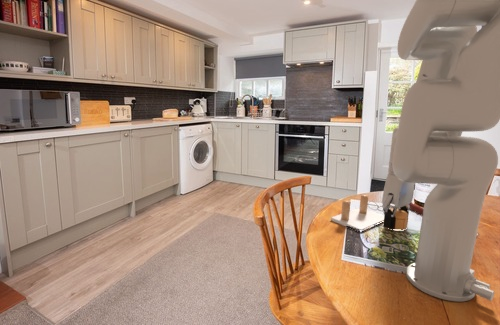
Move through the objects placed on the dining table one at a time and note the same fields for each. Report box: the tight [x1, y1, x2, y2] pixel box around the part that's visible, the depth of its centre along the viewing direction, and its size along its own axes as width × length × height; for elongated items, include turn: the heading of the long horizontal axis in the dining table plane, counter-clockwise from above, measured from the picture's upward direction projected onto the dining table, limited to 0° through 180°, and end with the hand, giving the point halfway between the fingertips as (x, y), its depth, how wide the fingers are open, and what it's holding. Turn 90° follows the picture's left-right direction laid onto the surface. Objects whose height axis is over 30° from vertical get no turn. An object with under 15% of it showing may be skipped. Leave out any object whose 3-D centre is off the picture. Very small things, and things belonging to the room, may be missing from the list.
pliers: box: [409, 201, 424, 216], centre depth 100 cm, size 12×20×3 cm, turn 166°
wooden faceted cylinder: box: [390, 208, 409, 230], centre depth 90 cm, size 6×6×5 cm
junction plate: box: [330, 194, 384, 230], centre depth 95 cm, size 11×16×7 cm
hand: (395, 224), depth 90 cm, fingers open, 7 cm apart
